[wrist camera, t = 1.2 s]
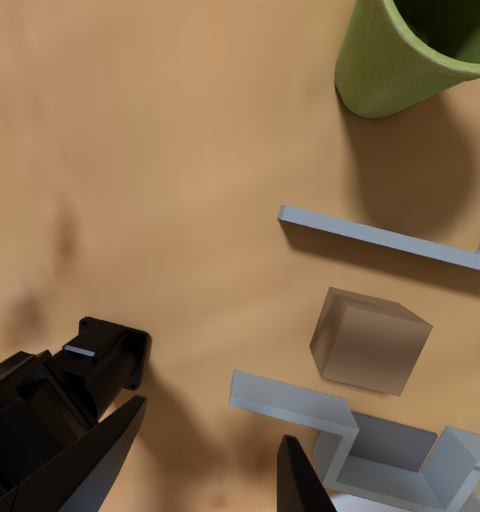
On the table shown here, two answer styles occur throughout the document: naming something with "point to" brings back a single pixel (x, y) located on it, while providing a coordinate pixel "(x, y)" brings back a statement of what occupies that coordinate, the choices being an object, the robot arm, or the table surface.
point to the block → (367, 341)
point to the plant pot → (406, 53)
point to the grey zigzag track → (367, 427)
